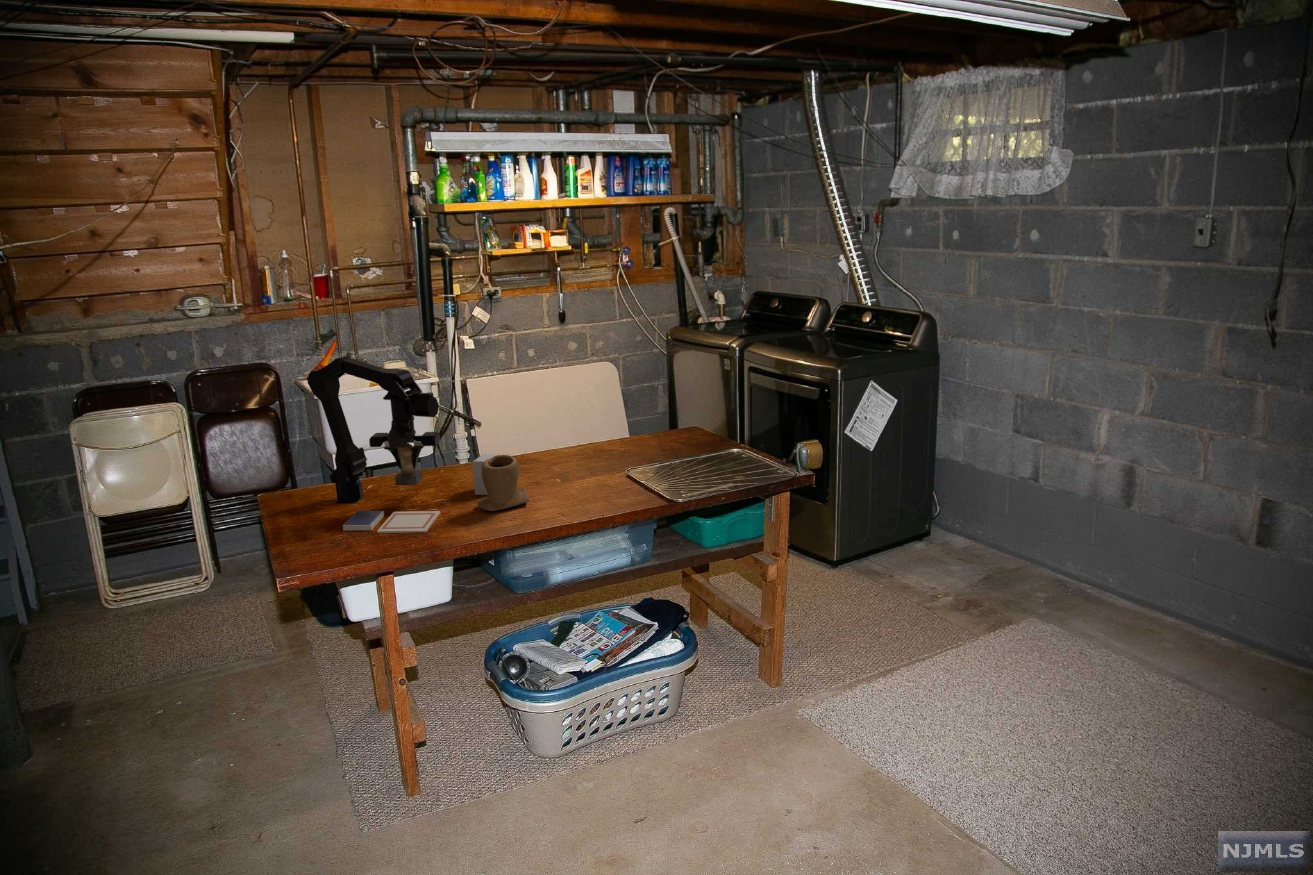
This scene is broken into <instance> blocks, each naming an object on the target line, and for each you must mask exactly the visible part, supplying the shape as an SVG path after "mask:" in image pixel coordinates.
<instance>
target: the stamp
mask: <svg viewBox="0 0 1313 875" xmlns="http://www.w3.org/2000/svg"><path fill="white" fill-rule="evenodd" d="M413 446H414V445H412V444H411V443H410V442H407V446H406V447H403V448H401V447H399V448H398V453H399V455H400V461H401V469H400V471H399V472H398V473H397V474H396V475H395V476H394V482H395V486H417V485H418V484H419V483H420V482H421V481H422V480H423V470H421V469H419V470H416V468H415V469H414V468H413V451H412V447H413Z"/></svg>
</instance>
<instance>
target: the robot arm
mask: <svg viewBox="0 0 1313 875" xmlns="http://www.w3.org/2000/svg"><path fill="white" fill-rule="evenodd" d="M345 375H349V376H353V377H356V378H359V379H362V380H365V381H369V382H372V383H375V384H376V385H378V386H379V387H380V388H381V389H382V390H384V391H387V393H386V394H385V395H384V396H383V397H382V400H384V401H390V410H391V419H392V421H390V422H391V423H390V424H391V425H390V426H391V427H390V430H389V432H375V433H374V434H373V435H371V436H370V438H369V440H368V442H369V447H370V448H381V447H382V446H383V444H384V447H383V448H384V449H383V450H387V451H388V452H390V454H391V455H392V456H393V458H394V460H395V462H396V464H397V466H398V468H399V469H400V470H401V461H400V455H399V453H398V448H399V447H401V448H403V447H406V446H407V443H413V445H412V446H413V447H412V451H413V468H414V469H415V470H416V468H417V466H418V461H419V459H420V458H419V457H420V455H421V452H422V449H424V447H434V446H435V447H436V446H437V445H438V444H439V443H440V442H441V435H440V433H439V431H425V432H423V434H422V435H416V434H417V432H416V431H417V430H416V429H415V417H421V418H435V417H436V416H437V415H438V413H439V408H440V404H439V402H438V400H437V398H436V397H435V396H434V392H423V390H422V388H421V387H420V386H419V384H418V383H417V382H416V381H415V379H414V378H413V375H412V374H411V371H409V370H407V369H403V368H384V367H380V366H377V365H373V364H370V363H368V362H364V361H360V360H358V359H354V358H351V357H349V356H347V355H344V356H340V357H336V358H334V359H333V360H332V361H331V362H329V363H327V364H326V365H325V366H323V367H321V368H319V369H316V370H313V371H310V372H309V374H308V376H307V377H306V380H307V385H308V386H309V388H310V391H311V393H312V395H314V396H315V397H316V398H317V400H319V401H320V403H321V405H322V408H323V412H324V416H325V418H326V421H327V425H328V426H329V427H328V428H329V430H330V433H331V436H332V439H333V443H334V445H335V448H336V450H335V457H334V463H335V469H334V470H333V471H332V472H331V474H330V475H329V479H330V480H329V481H330V482H331V483H332V484H334V485H335V491H336V499H335V500H334V502H335V503H337V504H338V503H340V504H341V503H358V502H359V501H360V500H361V499H362V498H363V497H364V495H365V494H364V490H363V483H362V482H361V479H360V478H361V477H362V476H363V475H364V471H365V470H366V467H367V465H368V463H367V461H368V458H367V456H366V453H365V450H364V447H358V446H357V445H356V444H354V443H355V442H354V440H353V438H352V434H351V432H350V428H349V425H348V421H347V419H346V416H345V413H344V409H343V406H342V404H341V400H340V398H339V393H340V388H341V384H340V378H342V377H343V376H345Z"/></svg>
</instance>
